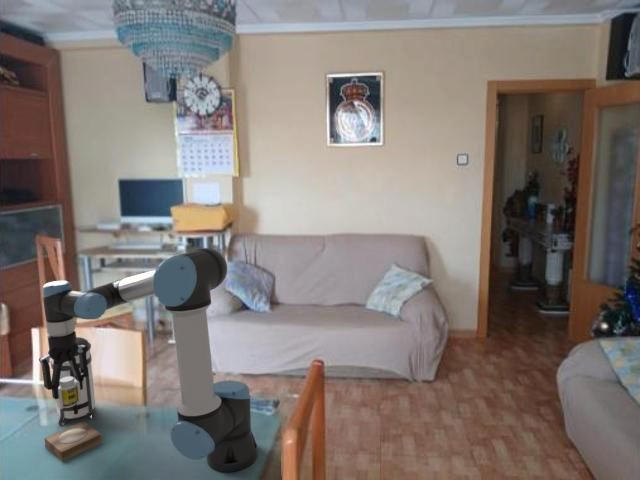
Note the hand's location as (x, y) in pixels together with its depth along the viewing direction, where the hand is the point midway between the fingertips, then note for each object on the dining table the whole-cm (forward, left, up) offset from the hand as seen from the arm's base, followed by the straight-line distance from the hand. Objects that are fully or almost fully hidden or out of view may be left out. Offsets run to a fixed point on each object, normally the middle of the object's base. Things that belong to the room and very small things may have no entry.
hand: (69, 403), depth 152 cm
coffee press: (+16, -9, -14) cm, 23 cm away
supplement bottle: (0, 0, -1) cm, 1 cm away
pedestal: (0, 0, -14) cm, 14 cm away
